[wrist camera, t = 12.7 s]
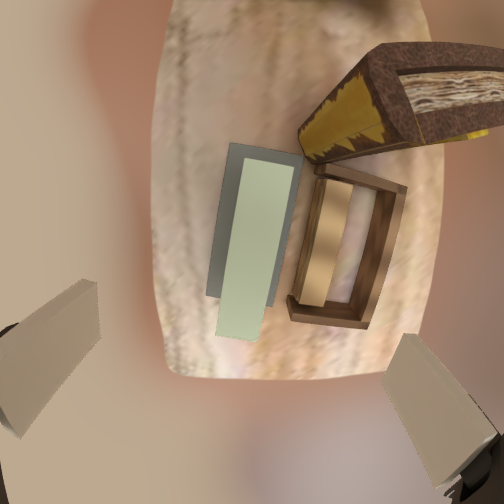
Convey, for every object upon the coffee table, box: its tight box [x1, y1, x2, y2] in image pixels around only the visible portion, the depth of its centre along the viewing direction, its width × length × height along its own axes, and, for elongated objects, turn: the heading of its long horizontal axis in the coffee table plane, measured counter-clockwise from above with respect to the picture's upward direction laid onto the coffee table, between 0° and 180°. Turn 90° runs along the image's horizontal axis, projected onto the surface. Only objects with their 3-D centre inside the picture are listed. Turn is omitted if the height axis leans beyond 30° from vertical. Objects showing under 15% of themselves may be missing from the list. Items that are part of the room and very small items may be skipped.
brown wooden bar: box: [292, 179, 353, 307], centre depth 36 cm, size 17×4×5 cm, turn 170°
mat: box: [206, 143, 304, 307], centre depth 38 cm, size 22×10×1 cm, turn 170°
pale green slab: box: [215, 158, 294, 342], centre depth 30 cm, size 16×4×15 cm, turn 170°
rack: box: [286, 163, 407, 330], centre depth 36 cm, size 20×12×6 cm, turn 170°
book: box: [298, 42, 504, 165], centre depth 22 cm, size 22×8×25 cm, turn 111°
